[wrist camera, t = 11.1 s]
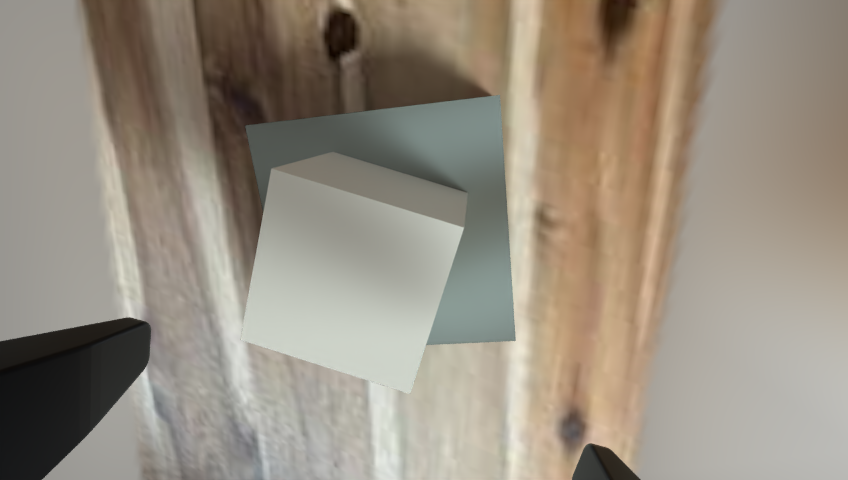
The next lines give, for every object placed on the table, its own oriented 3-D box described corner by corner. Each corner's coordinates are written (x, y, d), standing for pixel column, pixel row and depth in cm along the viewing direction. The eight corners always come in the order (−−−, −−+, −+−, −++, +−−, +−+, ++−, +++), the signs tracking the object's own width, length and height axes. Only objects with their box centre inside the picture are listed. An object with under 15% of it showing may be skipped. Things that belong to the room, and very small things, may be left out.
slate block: (508, 299, 21) (515, 340, 17) (323, 309, 22) (292, 350, 18) (494, 98, 19) (499, 95, 15) (289, 122, 20) (245, 125, 16)
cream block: (467, 192, 16) (463, 227, 11) (428, 315, 17) (410, 394, 12) (332, 151, 16) (271, 168, 11) (305, 277, 17) (240, 339, 13)
